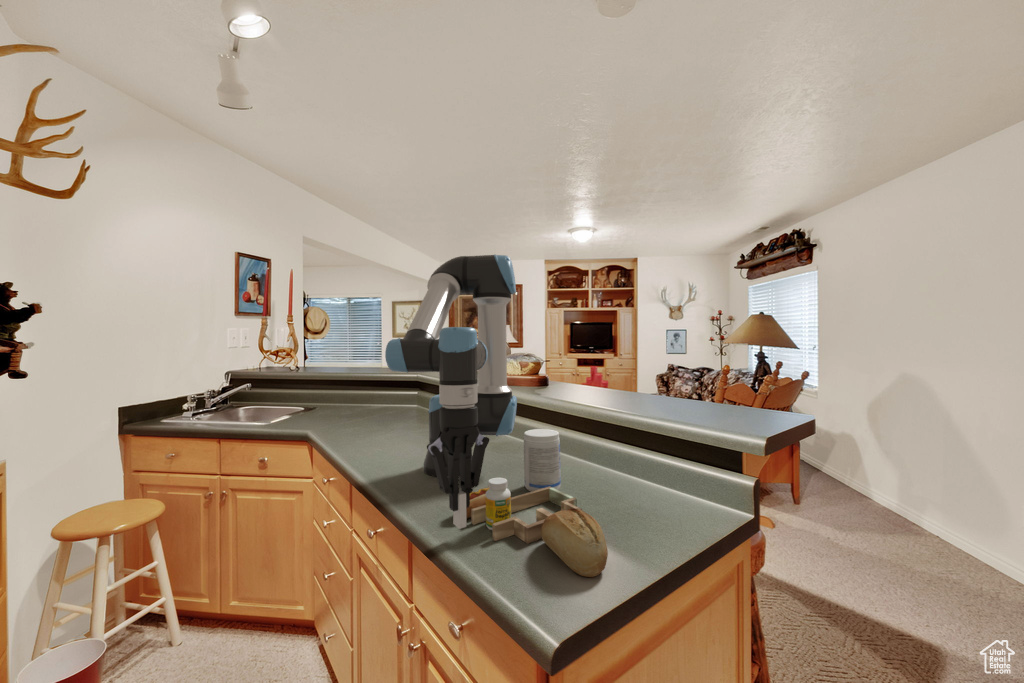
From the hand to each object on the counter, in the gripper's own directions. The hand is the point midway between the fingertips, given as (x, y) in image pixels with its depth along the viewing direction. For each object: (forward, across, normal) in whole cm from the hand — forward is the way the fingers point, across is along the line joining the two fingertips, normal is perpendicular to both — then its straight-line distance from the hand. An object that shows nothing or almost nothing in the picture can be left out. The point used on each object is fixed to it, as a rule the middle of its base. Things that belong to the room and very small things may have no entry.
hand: (459, 525), depth 78 cm
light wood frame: (+3, +16, -2) cm, 17 cm away
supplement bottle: (+3, +9, 0) cm, 10 cm away
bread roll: (+3, +14, -18) cm, 23 cm away
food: (+3, +10, +9) cm, 14 cm away
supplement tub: (+3, +30, +11) cm, 32 cm away
